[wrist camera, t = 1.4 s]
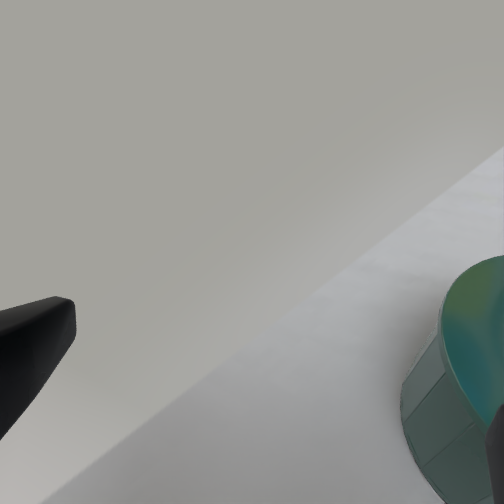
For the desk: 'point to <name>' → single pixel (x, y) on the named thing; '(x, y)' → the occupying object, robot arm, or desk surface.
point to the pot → (443, 431)
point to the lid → (475, 339)
